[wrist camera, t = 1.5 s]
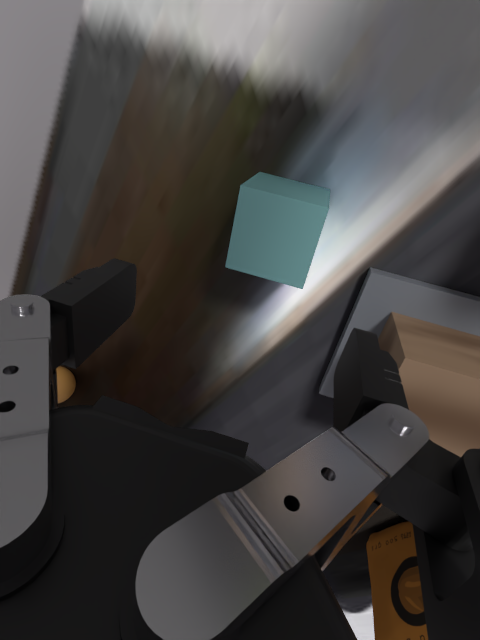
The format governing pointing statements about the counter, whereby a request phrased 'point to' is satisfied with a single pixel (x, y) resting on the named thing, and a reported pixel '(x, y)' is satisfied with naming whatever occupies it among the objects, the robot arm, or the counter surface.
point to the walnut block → (438, 378)
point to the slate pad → (403, 310)
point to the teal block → (277, 228)
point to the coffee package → (396, 584)
